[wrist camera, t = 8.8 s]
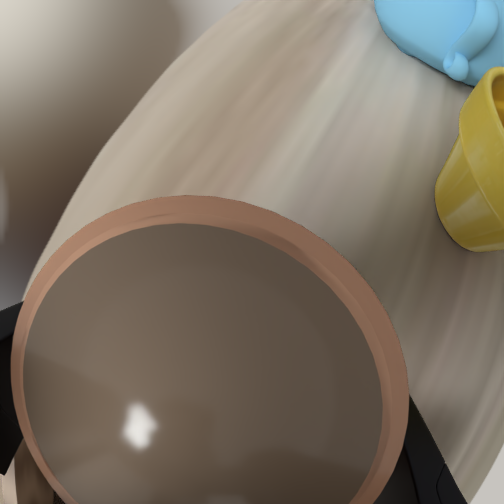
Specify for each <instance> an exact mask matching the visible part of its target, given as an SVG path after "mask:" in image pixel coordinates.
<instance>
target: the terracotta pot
mask: <svg viewBox="0 0 504 504" xmlns="http://www.w3.org/2000/svg"><path fill="white" fill-rule="evenodd" d="M11 385H12V393H13V400H14V406H15V410H16V414H17V418H18V422H19V425H20V428H21V431H22V433H23V436H24V439H25V441H26V444H27V446H28V448H29V450H30V452H31V454H32V456H33V458H34V460H35V462H36V464H37V466H38V467H39V469H40V471H41V472H42V474H43V475H44V477H45V478H46V480H47V481H48V483H49V484H50V485H51V487H52V488H53V489H54V490H55V492H56V493H57V494H58V495H59V496H60V498H61V499H62V500H63V501H64V502H65V503H66V504H373V503H374V501H375V500H376V499H377V498H378V496H379V495H380V494H381V492H382V490H383V489H384V487H385V485H386V483H387V482H388V480H389V478H390V476H391V475H392V473H393V471H394V468H395V466H396V463H397V461H398V458H399V455H400V453H401V450H402V447H403V442H404V438H405V433H406V428H407V424H408V410H409V388H408V378H407V370H406V365H405V361H404V357H403V353H402V349H401V346H400V342H399V339H398V337H397V335H396V332H395V330H394V328H393V325H392V323H391V321H390V318H389V316H388V314H387V312H386V311H385V309H384V307H383V306H382V304H381V303H380V301H379V299H378V298H377V296H376V295H375V293H374V291H373V290H372V288H371V287H370V286H369V284H368V283H367V282H366V281H365V280H364V279H363V277H362V276H361V275H360V274H359V273H358V272H357V270H356V269H355V268H354V267H353V266H352V265H351V263H349V262H348V261H347V260H346V259H345V258H344V257H343V256H342V255H340V254H339V253H338V252H337V251H336V250H335V249H334V248H333V247H331V246H330V245H329V244H328V243H327V242H325V241H324V240H322V239H321V238H319V237H318V236H316V235H315V234H313V233H312V232H310V231H309V230H307V229H306V228H304V227H303V226H301V225H299V224H297V223H295V222H293V221H291V220H289V219H287V218H285V217H283V216H281V215H279V214H277V213H275V212H272V211H269V210H266V209H263V208H260V207H257V206H254V205H251V204H248V203H245V202H241V201H236V200H230V199H225V198H219V197H213V196H192V195H182V196H171V197H160V198H154V199H150V200H146V201H142V202H137V203H133V204H130V205H127V206H125V207H122V208H120V209H117V210H115V211H112V212H110V213H107V214H105V215H104V216H102V217H100V218H98V219H96V220H95V221H93V222H91V223H89V224H88V225H86V226H85V227H83V228H82V229H81V230H79V231H78V232H77V233H75V234H74V235H73V236H72V237H70V238H69V239H68V240H67V241H66V242H65V243H64V244H63V245H62V246H61V247H60V248H59V249H58V250H57V251H56V252H55V253H54V254H53V255H52V256H51V257H50V258H49V260H48V261H47V262H46V264H45V265H44V266H43V268H42V269H41V271H40V272H39V273H38V275H37V276H36V278H35V280H34V282H33V284H32V285H31V287H30V289H29V291H28V293H27V295H26V297H25V300H24V302H23V305H22V307H21V310H20V313H19V315H18V319H17V323H16V327H15V332H14V336H13V343H12V352H11Z"/></svg>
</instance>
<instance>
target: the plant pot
mask: <svg viewBox="0 0 504 504" xmlns="http://www.w3.org/2000/svg"><path fill="white" fill-rule="evenodd" d="M435 203H436V208H437V212H438V215H439V218H440V220H441V222H442V224H443V226H444V228H445V229H446V231H447V232H448V234H449V235H450V236H451V237H452V238H453V240H454V241H456V242H457V243H458V244H459V245H460V246H462V247H463V248H465V249H467V250H470V251H473V252H485V251H495V250H504V67H500V66H498V67H493V68H491V69H489V70H488V71H487V72H486V73H485V74H484V75H483V77H482V78H481V80H480V81H479V82H478V84H477V85H476V86H475V88H474V89H473V91H472V92H471V94H470V95H469V97H468V98H467V100H466V101H465V103H464V105H463V106H462V108H461V111H460V116H459V135H458V137H457V139H456V141H455V144H454V146H453V148H452V150H451V152H450V154H449V156H448V158H447V160H446V162H445V164H444V166H443V168H442V170H441V172H440V174H439V176H438V178H437V181H436V184H435Z"/></svg>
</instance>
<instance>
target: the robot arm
mask: <svg viewBox="0 0 504 504" xmlns="http://www.w3.org/2000/svg"><path fill="white" fill-rule="evenodd" d="M23 302H24V301H22V302H20V303H18V304H15V305H13V306H11V307H8V308H6V309H4V310H1V311H0V474H2V475H3V476H5V474H6V473H7V471H8V468H9V466H10V464H11V462H12V460H13V458H14V456H15V454H16V452H17V450H18V448H19V446H20V444H21V442H22V440H23V438H24V436H23V433H22V431H21V428H20V425H19V422H18V418H17V414H16V410H15V406H14V400H13V393H12V385H11V352H12V343H13V336H14V332H15V327H16V323H17V319H18V315H19V313H20V310H21V307H22V305H23ZM444 463H445V461H444V459H443V457H442V455H441V453H440V451H439V449H438V447H437V445H436V443H435V441H434V439H433V437H432V435H431V433H430V431H429V429H428V428H427V426H426V424H425V422H424V420H423V418H422V416H421V414H420V413H419V411H418V409H417V407H416V405H415V403H414V402H413V400H412V398H411V396H410V394H409V410H408V424H407V428H406V433H405V438H404V442H403V447H402V450H401V453H400V455H399V458H398V461H397V463H396V466H395V468H394V471H393V473H392V475H391V476H390V478H389V480H388V482H387V483H386V485H385V487H384V489H383V490H382V492H381V494H380V495H379V496H378V498H377V499H376V500H375V501H374V503H373V504H467V502H466V500H465V499H464V497H463V495H462V493H461V492H460V490H459V488H458V486H457V485H456V483H455V481H454V479H453V477H452V475H451V473H450V471H449V469H448V467H447V465H446V464H444Z"/></svg>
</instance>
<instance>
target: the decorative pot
mask: <svg viewBox="0 0 504 504" xmlns="http://www.w3.org/2000/svg"><path fill="white" fill-rule="evenodd" d="M374 4H375V10H376V13H377V16H378V19H379V22H380V24H381V26H382V29H383V30H384V32H385V34H386V35H387V36H388V37H389V38H390V39H391V40H392V41H393V42H394V43H396V45H397V47H398V48H399V49H400V50H401V51H402V52H404V53H405V54H407V55H409V56H413V57H417V58H418V59H420V60H422V61H423V62H425V63H427V64H428V65H430V66H432V67H434V68H435V69H437V70H439V71H441V72H443V73H445V74H447V75H448V76H449V77H451V78H452V79H454V80H456V81H462V82H463V83H465V84H467V85H473V86H476V85H477V84H478V82H479V81H480V80H481V78H482V77H483V75H484V74H485V73H486V72H487V71H488V70H489V69H491V68H493V67H498V66H500V67H504V0H374Z"/></svg>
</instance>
